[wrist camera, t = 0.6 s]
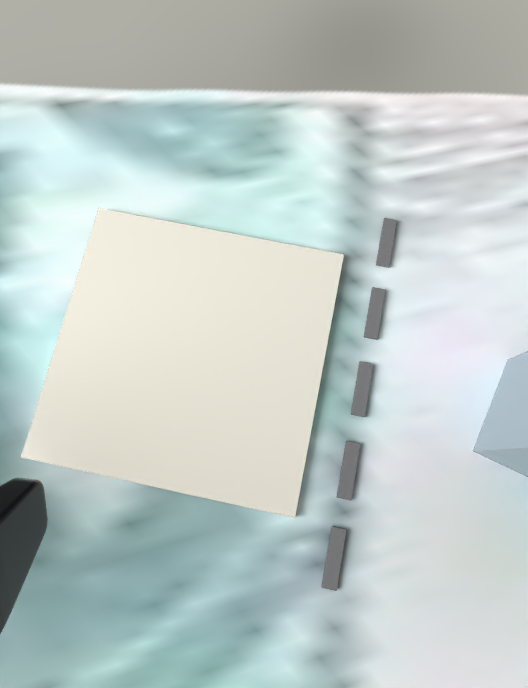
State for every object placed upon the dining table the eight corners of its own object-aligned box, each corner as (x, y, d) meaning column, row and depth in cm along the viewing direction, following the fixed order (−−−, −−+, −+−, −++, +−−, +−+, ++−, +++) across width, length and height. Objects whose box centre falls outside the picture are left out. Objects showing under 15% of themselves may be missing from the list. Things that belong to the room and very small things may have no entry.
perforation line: (383, 219, 25) (384, 217, 24) (396, 222, 25) (396, 220, 24) (321, 586, 21) (321, 587, 21) (336, 589, 21) (336, 590, 21)
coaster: (342, 258, 24) (343, 254, 24) (294, 516, 21) (294, 518, 21) (101, 212, 25) (98, 208, 24) (25, 457, 22) (20, 457, 22)
